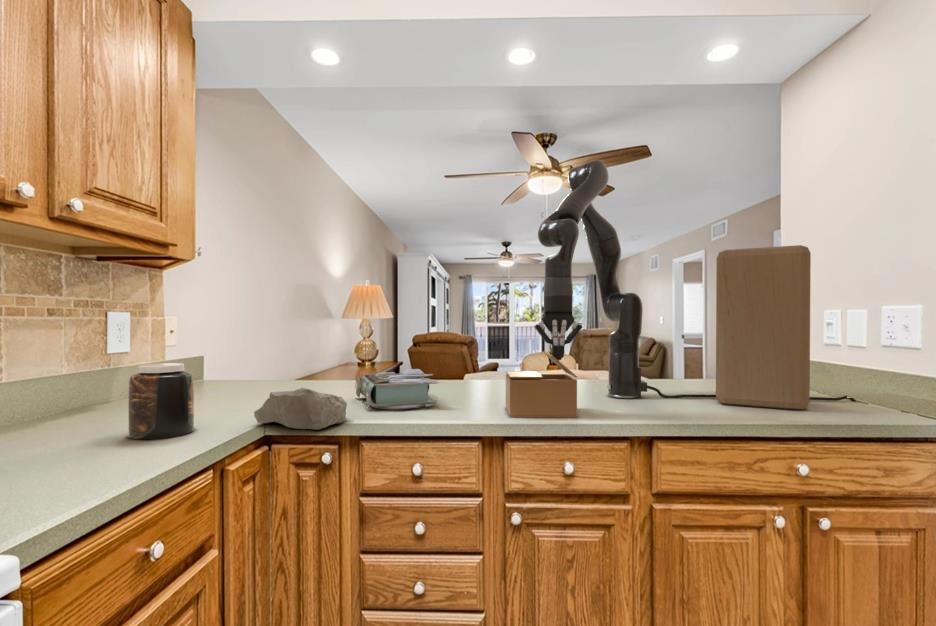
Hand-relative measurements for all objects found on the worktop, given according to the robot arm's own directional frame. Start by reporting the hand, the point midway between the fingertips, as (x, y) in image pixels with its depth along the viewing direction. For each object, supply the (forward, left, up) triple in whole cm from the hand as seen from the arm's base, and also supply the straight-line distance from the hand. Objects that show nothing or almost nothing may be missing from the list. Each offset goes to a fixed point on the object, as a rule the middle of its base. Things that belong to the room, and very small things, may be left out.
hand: (557, 359), depth 129 cm
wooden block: (-63, -15, -14) cm, 66 cm away
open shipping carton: (+5, 0, -14) cm, 15 cm away
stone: (+64, +14, -14) cm, 67 cm away
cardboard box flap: (0, 0, -1) cm, 1 cm away
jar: (+91, +24, -14) cm, 95 cm away
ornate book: (+45, -15, -14) cm, 49 cm away
